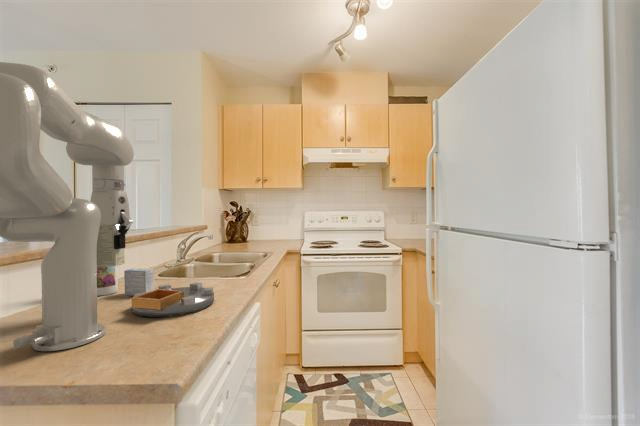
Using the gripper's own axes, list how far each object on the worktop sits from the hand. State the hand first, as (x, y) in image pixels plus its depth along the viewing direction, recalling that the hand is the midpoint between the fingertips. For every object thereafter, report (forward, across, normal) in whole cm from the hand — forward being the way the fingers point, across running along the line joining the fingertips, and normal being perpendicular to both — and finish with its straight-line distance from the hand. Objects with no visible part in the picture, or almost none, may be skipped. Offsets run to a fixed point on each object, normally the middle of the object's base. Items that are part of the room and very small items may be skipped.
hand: (109, 247), depth 86 cm
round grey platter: (+18, -16, -8) cm, 25 cm away
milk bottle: (+18, +18, -14) cm, 29 cm away
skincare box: (+5, 0, 0) cm, 5 cm away
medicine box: (+18, +5, -16) cm, 24 cm away
